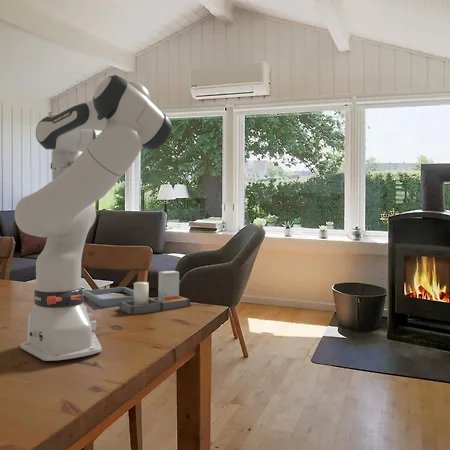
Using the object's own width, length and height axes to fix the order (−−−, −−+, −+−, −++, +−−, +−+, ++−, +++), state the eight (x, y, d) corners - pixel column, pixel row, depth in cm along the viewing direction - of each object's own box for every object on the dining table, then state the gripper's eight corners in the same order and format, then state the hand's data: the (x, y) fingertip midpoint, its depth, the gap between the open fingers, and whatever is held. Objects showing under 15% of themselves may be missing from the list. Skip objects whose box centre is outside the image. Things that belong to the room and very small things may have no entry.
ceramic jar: (151, 310, 150) (150, 283, 150) (137, 312, 148) (137, 284, 147) (144, 307, 154) (144, 281, 154) (131, 309, 152) (131, 282, 151)
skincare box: (163, 308, 153) (163, 273, 152) (157, 306, 156) (157, 271, 156) (179, 306, 156) (179, 271, 156) (173, 304, 160) (173, 270, 159)
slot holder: (190, 306, 156) (190, 298, 156) (130, 314, 144) (130, 305, 144) (177, 302, 164) (177, 294, 164) (119, 309, 152) (119, 300, 152)
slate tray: (145, 303, 161) (145, 294, 161) (101, 308, 153) (101, 299, 152) (124, 294, 178) (124, 286, 178) (83, 298, 169) (83, 290, 169)
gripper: (84, 161, 150) (84, 203, 150) (67, 165, 166) (67, 203, 167) (64, 159, 146) (64, 203, 147) (49, 164, 163) (49, 203, 163)
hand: (66, 203), depth 157 cm, fingers open, 8 cm apart
